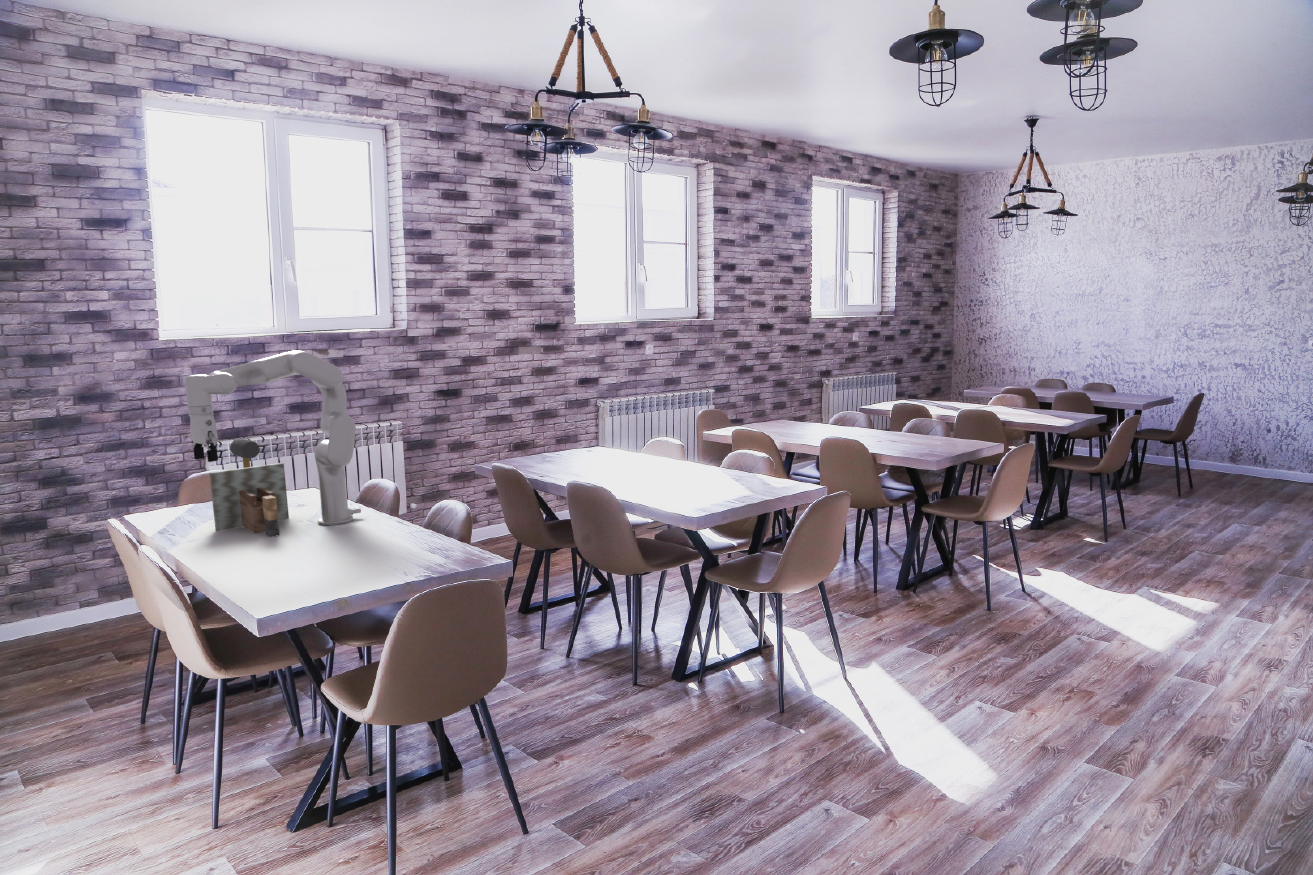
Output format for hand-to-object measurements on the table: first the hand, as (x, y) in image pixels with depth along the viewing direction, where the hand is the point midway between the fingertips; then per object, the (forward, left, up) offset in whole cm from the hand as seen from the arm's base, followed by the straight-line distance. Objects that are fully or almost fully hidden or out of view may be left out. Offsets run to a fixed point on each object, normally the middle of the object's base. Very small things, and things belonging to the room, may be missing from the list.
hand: (206, 460), depth 293 cm
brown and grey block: (-19, +2, -30) cm, 35 cm away
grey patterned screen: (-19, -12, -30) cm, 37 cm away
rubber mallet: (-25, -42, -30) cm, 58 cm away
